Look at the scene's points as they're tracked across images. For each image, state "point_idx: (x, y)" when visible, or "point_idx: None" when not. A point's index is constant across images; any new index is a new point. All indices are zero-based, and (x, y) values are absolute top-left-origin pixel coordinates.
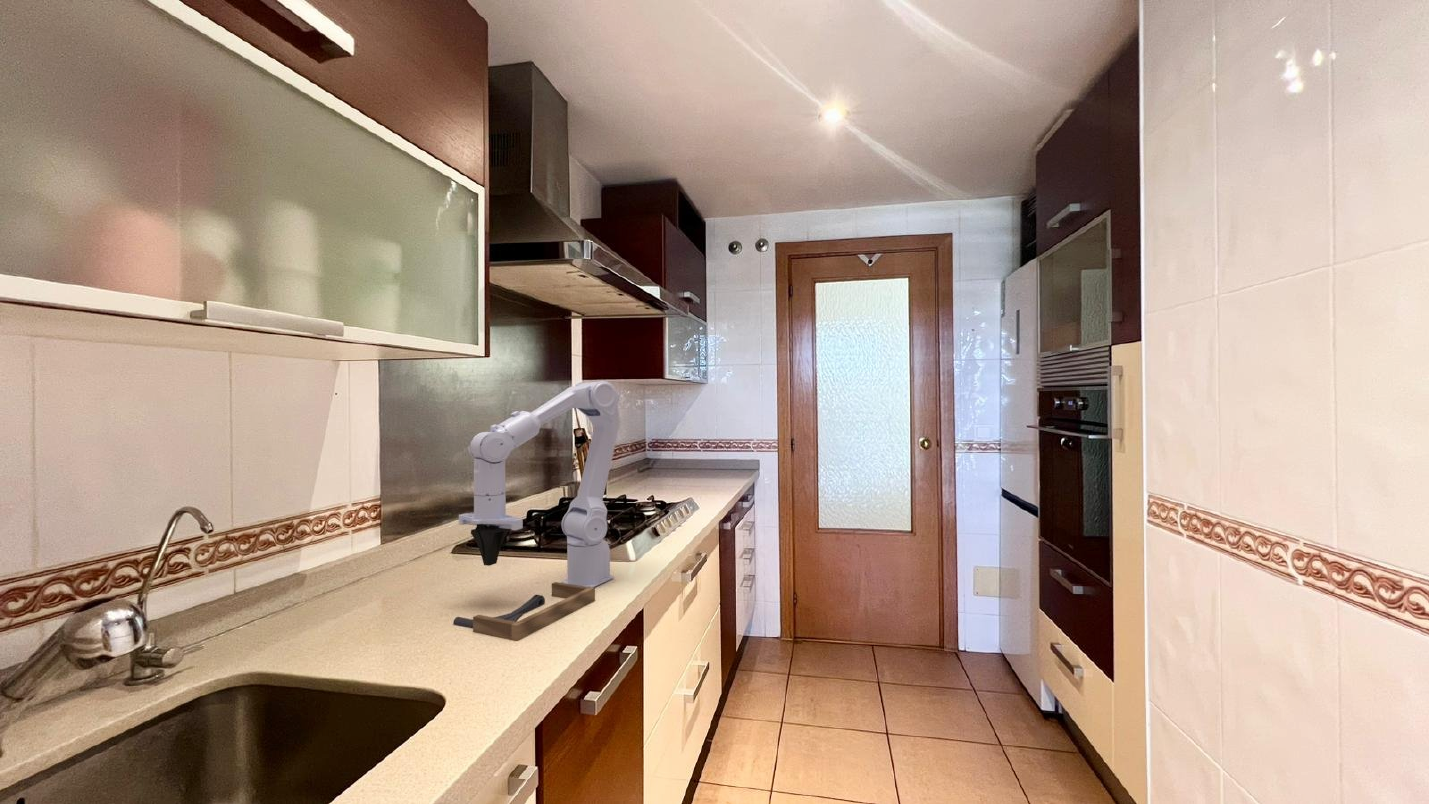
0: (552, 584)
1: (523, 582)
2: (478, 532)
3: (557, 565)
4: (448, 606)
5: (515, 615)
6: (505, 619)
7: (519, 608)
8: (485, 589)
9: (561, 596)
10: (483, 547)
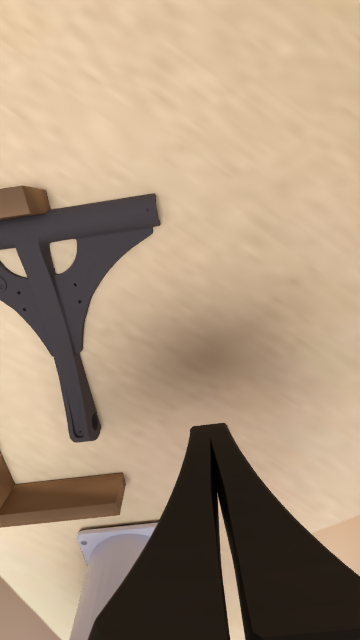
0: (112, 501)
1: None
2: (255, 638)
3: None
4: (313, 287)
5: (47, 332)
6: (35, 294)
7: (69, 363)
8: (330, 426)
9: (90, 478)
10: (228, 501)
